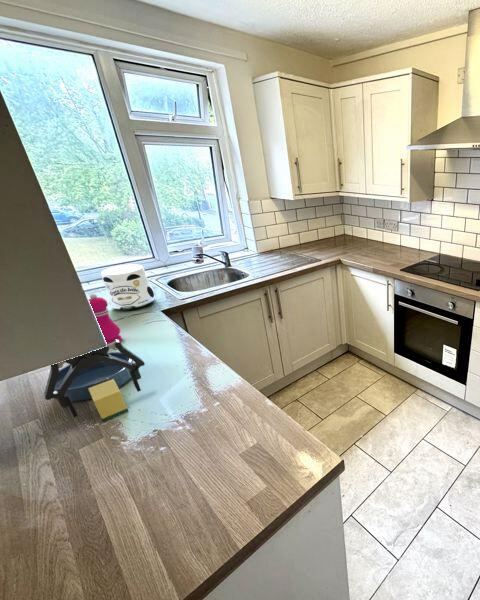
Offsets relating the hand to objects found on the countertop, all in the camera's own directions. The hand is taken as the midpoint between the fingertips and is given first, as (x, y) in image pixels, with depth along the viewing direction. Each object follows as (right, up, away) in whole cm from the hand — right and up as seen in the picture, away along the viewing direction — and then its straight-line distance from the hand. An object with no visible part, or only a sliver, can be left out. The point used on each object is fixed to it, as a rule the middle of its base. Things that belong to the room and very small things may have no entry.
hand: (108, 401), depth 91 cm
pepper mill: (-29, +12, +34) cm, 47 cm away
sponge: (0, -3, +1) cm, 3 cm away
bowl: (-14, +2, +12) cm, 19 cm away
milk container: (-46, +25, +66) cm, 84 cm away
